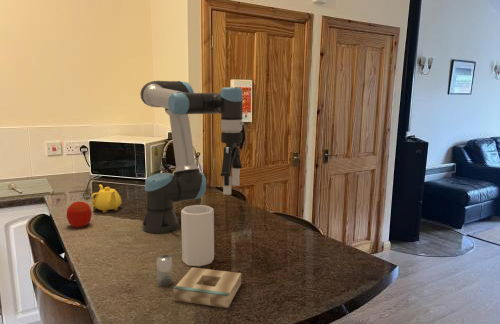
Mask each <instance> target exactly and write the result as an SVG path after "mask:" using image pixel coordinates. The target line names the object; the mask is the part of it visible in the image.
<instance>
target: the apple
mask: <svg viewBox="0 0 500 324" xmlns="http://www.w3.org/2000/svg"><path fill="white" fill-rule="evenodd" d="M91 207H92V206H91V205H90V204H89V203H88V202H85V201H79V200H78V201H74V202H73V203H71V204H70V205H68V208H67V209H66V219H67V221H68V222H67V223H68V224H69V225H71V226H72V227H74V228H76V229H78V228H79V229H80V228H83V227H85V226H86V225H88V224H89V223H90V222H91V219H92V215H93V214H92V213H93V212H92V208H91Z"/></svg>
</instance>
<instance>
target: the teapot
mask: <svg viewBox="0 0 500 324" xmlns="http://www.w3.org/2000/svg"><path fill="white" fill-rule="evenodd" d="M98 186H99V191H98V192H94V193H92V194H91V201H92V202H91V203H90V207H93V208H94V207H95V208H96V209H98V211H99V210H100V211H102V213H104V214H105V213H108V211H110V210H113V211H119V209H118V208H119V207H120V206H121V205H122V203H123V202H122V197H121V195H120V194H119V192H118V191H117V190H116V189H114V188H111V187H110V186H106V187H104V186H103V185H102V184H98ZM95 195H96V196H95ZM94 196H95V198H94Z"/></svg>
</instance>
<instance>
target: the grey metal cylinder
mask: <svg viewBox="0 0 500 324" xmlns="http://www.w3.org/2000/svg"><path fill="white" fill-rule="evenodd" d="M173 277H174V276H173V257H172V256H171V255H169V254H163V255H159V256H157V257H156V280H157V282H156V283H157V285H158V286H160V287H167V286H170V285H171V284H173V281H174V279H173Z"/></svg>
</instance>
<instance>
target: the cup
mask: <svg viewBox="0 0 500 324" xmlns="http://www.w3.org/2000/svg"><path fill="white" fill-rule="evenodd" d="M214 211H215V209H214V208H213V207H211V206H209V205H205V204H204V205H202V204H195V205H189V206H185V207H184V208H182V209H181V211H180V218H181V219H180V220H181V224H180V227H181V260H182V262H183V263H184V264H185V265H187V266H189V267H190V266H191V267H202V266H206V265H210V264H212V262H213V261H214V259H215V218H214V217H215V216H214V215H215V213H214Z"/></svg>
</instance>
